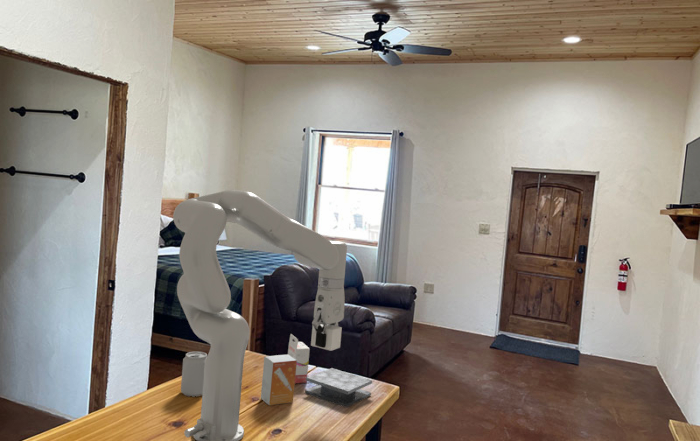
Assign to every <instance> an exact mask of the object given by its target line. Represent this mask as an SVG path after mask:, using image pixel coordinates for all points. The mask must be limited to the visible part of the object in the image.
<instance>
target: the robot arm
mask: <svg viewBox="0 0 700 441" xmlns="http://www.w3.org/2000/svg"><path fill="white" fill-rule="evenodd" d="M172 216H173V217H172V219H173V222H174V225H175V227H176V228H177V229H178V230H180V231H181V232H182V233H184V236H182V237H183V238H182V240H181V244H180V246H179V255H178V256H179V257H178V258H179V262H180V265H181V268H182V271H183V274H182V275H181V276H180V277H179V280H178V282H177V286H176V293H177V299H178V301H179V304H180V307H181V308H182V311H183V313H184V314H185V315H184V316H186V317H185V318H186V320H187V321H188V324H189V326H190V329H191V330H192V332H193V333H194V334H195V335H196V336H197V337H198V339H200V340H202V341H204V342H206V343H207V344H209V345H210V348H209V352H208V354H207V358H206V361H205V367H204V381H203V394H202V395H201V406H200V407H201V408H200V418H198V419H196V424H195V425H194V426H192V427H189V428H186V429H184V432H183V433H184V436H185V438H190V437H191V438H192V437H193V438H194V440H196V441H240V440H242V438H243V437H244V436H245V430H244V429H245V428H244V427H243V426H242V425H241V424H239V422H240V412H241V409H240V408H241V397H242V384H243V373H244V371H243V370H244V364H245V363H244V361H245V357H246V356H245V355H246V350H247V346H248V343H249V339H250V333H251V332H250V326H249V323H248V322H247V320H246V319H245V318H244V317H243V316H242V315H241V314H239V313H237V312H235V311H232V310H230V309H227V308H228V307H229V305H230V302H231V298H232V296H231V294H232V293H231V290H230V287H229V283H228V282H227V279H226V276H225V275H224V271H223V269H222V266H221V264H220V261H219V258H218V254H217V245H218V242H219V240H220V238H221V236H222V234H223V233H224V231H225V229H226V227H227V223H233V224H237V225H240V227H243V228H244V229H245V230H247V231H249V232H251V233H253V234H254V235H256V236H257V237H259V238H261V239H262V240H263V241H265V242H266V243H268V244H270V245H272V246H275V247H276V248H280V249H282V250H285V251H289V252H291V253H292V252H293V256H294V259H295V261H297V263H299V264H301V265H303V266H307V267H311V268H315V269H319V271H318V279H317V280H318V283H317V284H318V285H317V292H316V295H315V302H314V310H313V320H312V322H311V325H312V327H313V326H314V328H315V332H316V342H315V345H316V346H319V347H323V348H324V347H325V345H326V334H325V332H326V327H327V324H330V325H334V326H338V327H339V325H340V323H341V321H343V320H344V318H345V304H346V303H345V302H346V300H345V299H346V298H345V288H344V286H345V278H346V277H345V276H346V263H347V252H348V247H347V246H348V245H347V244H346V242H343V241H338V240H329V239H327V238H326V237H325V236H323V235H321V233H318V232H316V231H315V230H313V229H311V228H309V227H308V226H305V225H303V224H301V223H300V222H298V221H296V220H294V219H292V218H291V217H288V216H287V215H285V214H283V213H282V212H281V211H280V210H278V209H277V208H275V207H274V206H272V205H271V204H269V203H268V202H266V201H265V200H264V199H263V198H261V197H260V196H258V195H256V194H254V193H253V192H250V191H247V190H246V191H244V190H234V189H230V190H224V191H218V192H214V193H210V194H205V195H201V196H196V197H193V198H188V199H185V200H183V201H181V202H180V203H178V204H177V205H176V207H175V209H174V211H173V215H172ZM321 324H323V328H322V326H321Z"/></svg>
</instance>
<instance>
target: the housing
mask: <svg viewBox="0 0 700 441" xmlns="http://www.w3.org/2000/svg"><path fill="white" fill-rule="evenodd" d="M321 326H322V328H323V324H321ZM342 328H343V327H342V326H339V325H338V326H334V325H330V324H327V327H326V332H325V334H326V345H325V347H324V348H323V347H319V346H316V345H315V342H316V332H315V328H314V326H313V325H312V329H311V341H310V347H311V346H312V347H315V348H319V349H323V350H326V351H334V350H337V349H340V348H341V341H342Z"/></svg>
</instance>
